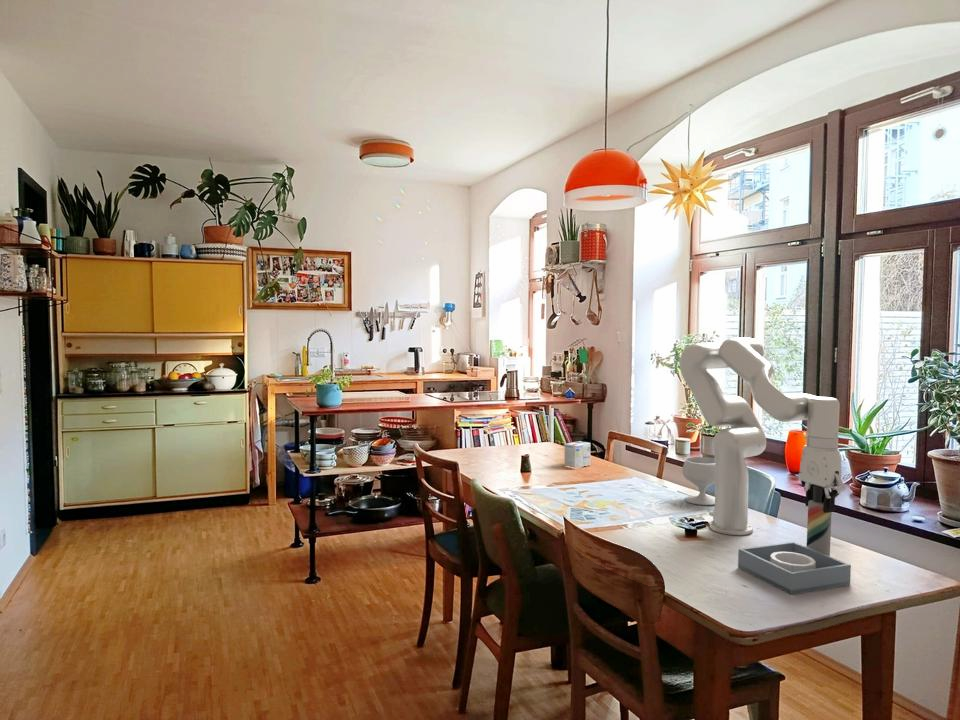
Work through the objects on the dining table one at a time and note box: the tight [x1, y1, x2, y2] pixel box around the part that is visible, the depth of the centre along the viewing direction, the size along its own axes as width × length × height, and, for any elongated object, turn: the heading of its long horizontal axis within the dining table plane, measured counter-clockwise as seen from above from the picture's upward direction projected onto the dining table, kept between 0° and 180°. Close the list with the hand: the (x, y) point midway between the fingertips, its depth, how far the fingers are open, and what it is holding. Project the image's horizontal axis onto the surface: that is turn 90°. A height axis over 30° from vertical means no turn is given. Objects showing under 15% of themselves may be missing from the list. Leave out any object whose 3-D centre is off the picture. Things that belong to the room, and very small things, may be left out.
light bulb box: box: [564, 440, 591, 468], centre depth 290 cm, size 11×7×11 cm, turn 130°
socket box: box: [737, 541, 852, 596], centre depth 163 cm, size 18×18×5 cm
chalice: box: [681, 456, 716, 506], centre depth 233 cm, size 14×14×15 cm
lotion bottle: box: [806, 485, 833, 557], centre depth 176 cm, size 6×6×20 cm
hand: (819, 508), depth 176 cm, fingers closed on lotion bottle, 5 cm apart
